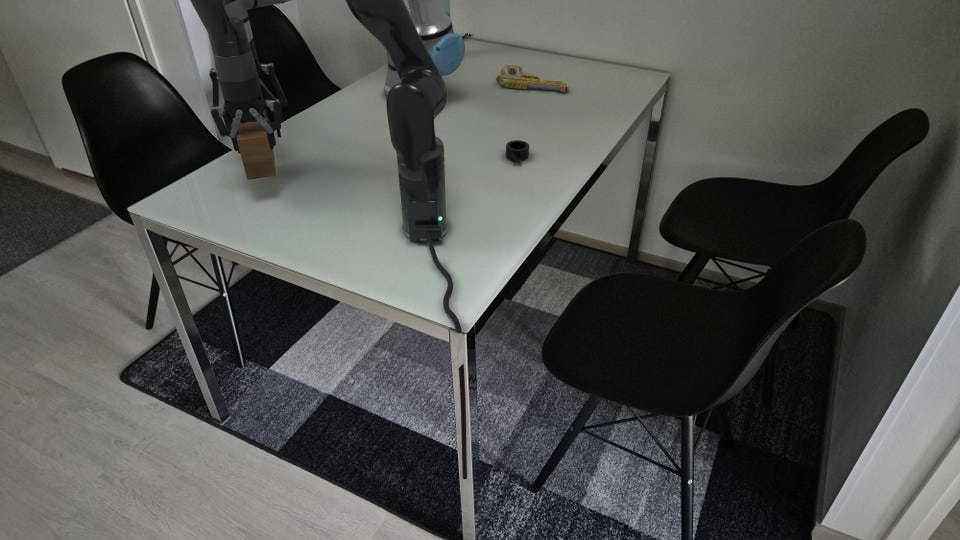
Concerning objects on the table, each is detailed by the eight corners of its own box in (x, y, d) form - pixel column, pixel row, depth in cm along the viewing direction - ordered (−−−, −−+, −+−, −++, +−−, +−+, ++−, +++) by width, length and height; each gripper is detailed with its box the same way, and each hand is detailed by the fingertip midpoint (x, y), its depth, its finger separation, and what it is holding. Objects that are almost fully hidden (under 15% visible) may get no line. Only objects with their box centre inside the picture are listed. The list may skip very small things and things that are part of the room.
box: (276, 176, 137) (266, 135, 131) (247, 180, 136) (236, 139, 130) (272, 135, 153) (263, 97, 147) (246, 138, 152) (236, 100, 146)
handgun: (571, 77, 201) (567, 95, 190) (501, 70, 205) (493, 87, 193) (572, 69, 200) (567, 86, 188) (501, 63, 203) (493, 79, 191)
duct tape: (493, 159, 157) (493, 148, 155) (515, 144, 163) (515, 134, 161) (519, 168, 153) (519, 157, 151) (540, 152, 160) (541, 142, 158)
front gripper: (273, 63, 130) (289, 137, 140) (200, 71, 127) (221, 146, 137) (275, 76, 124) (291, 152, 135) (198, 84, 121) (220, 162, 131)
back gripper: (286, 31, 140) (303, 125, 154) (182, 41, 135) (210, 137, 149) (288, 42, 135) (306, 138, 149) (180, 52, 130) (209, 151, 144)
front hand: (256, 149), depth 136 cm, fingers closed on box, 6 cm apart
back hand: (258, 137), depth 149 cm, fingers open, 9 cm apart
